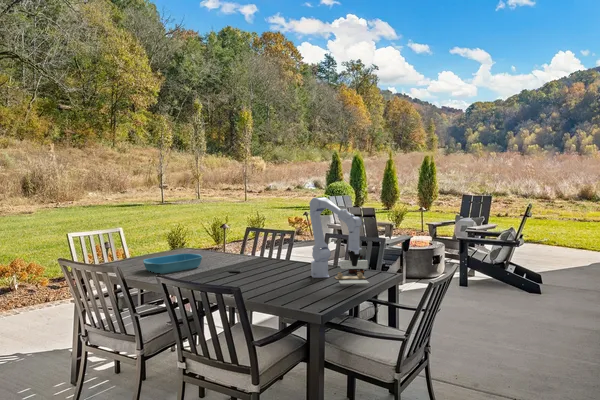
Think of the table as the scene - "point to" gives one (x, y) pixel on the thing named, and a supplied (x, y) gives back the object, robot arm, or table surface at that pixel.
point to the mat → (354, 282)
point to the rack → (359, 276)
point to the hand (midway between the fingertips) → (353, 265)
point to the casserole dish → (172, 263)
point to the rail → (348, 265)
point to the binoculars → (357, 269)
